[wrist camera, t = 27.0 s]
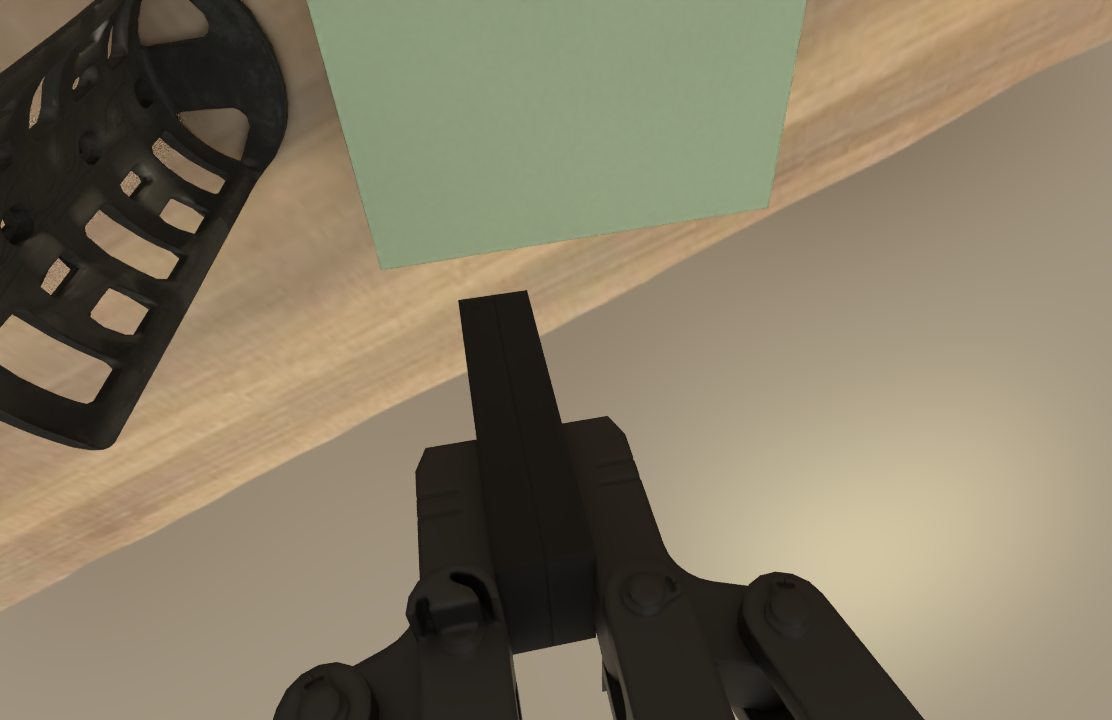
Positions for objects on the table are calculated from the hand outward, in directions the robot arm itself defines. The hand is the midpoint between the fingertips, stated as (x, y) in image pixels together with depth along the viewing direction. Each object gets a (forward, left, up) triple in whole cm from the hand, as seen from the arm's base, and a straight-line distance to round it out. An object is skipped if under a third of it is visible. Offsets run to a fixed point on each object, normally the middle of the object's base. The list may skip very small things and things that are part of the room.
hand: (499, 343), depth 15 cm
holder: (-13, -1, -25) cm, 28 cm away
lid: (+5, -1, -18) cm, 18 cm away
